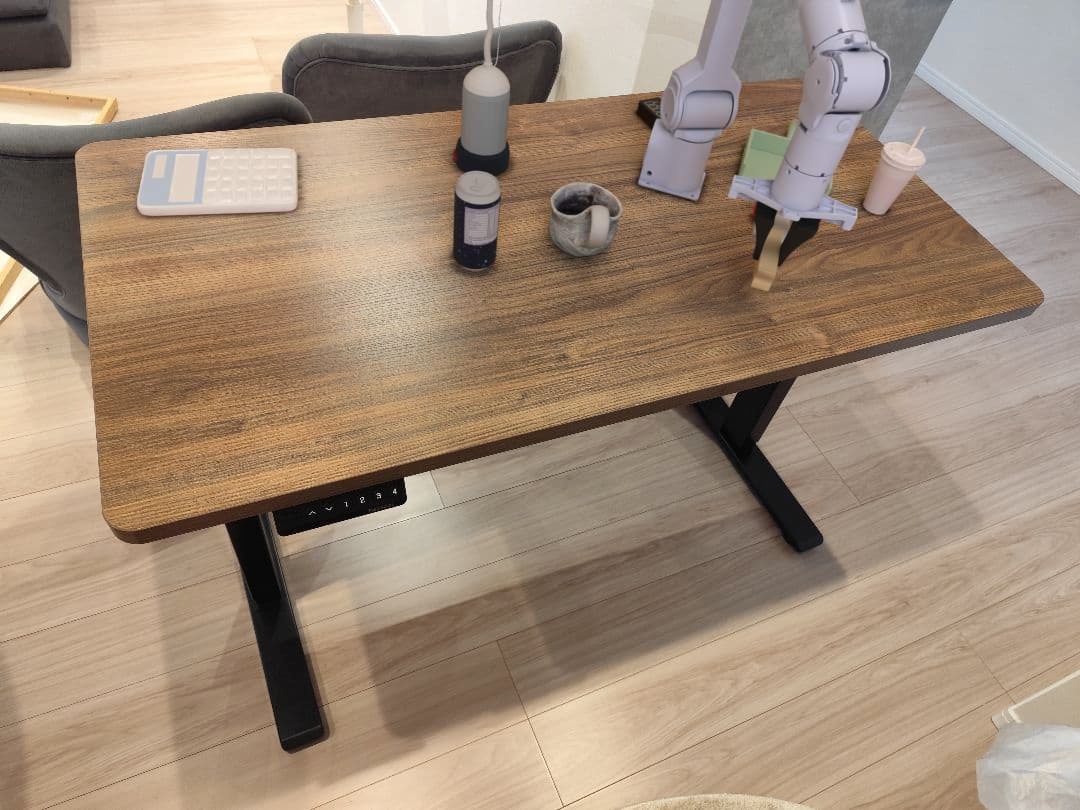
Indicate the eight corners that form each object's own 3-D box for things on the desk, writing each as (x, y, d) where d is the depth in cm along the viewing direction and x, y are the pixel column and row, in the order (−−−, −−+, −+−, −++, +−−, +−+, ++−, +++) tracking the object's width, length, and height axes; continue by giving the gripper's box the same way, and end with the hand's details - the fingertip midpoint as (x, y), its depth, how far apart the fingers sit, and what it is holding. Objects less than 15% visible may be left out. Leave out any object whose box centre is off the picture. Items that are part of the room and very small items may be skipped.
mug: (598, 220, 106) (612, 159, 98) (632, 277, 99) (649, 216, 91) (535, 227, 103) (544, 165, 95) (565, 287, 96) (577, 224, 88)
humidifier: (444, 156, 112) (446, -20, 92) (486, 141, 115) (497, -31, 96) (476, 183, 108) (486, 6, 89) (519, 167, 112) (537, -6, 93)
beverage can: (501, 254, 99) (508, 177, 89) (486, 279, 95) (491, 201, 86) (462, 241, 99) (465, 164, 90) (445, 266, 96) (447, 188, 87)
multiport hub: (656, 108, 128) (659, 96, 126) (692, 142, 122) (696, 129, 121) (635, 112, 126) (638, 100, 125) (670, 146, 121) (674, 134, 119)
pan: (823, 205, 115) (832, 187, 112) (736, 181, 116) (743, 163, 114) (829, 142, 128) (837, 124, 125) (751, 121, 129) (757, 103, 127)
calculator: (298, 212, 99) (296, 200, 98) (138, 218, 95) (133, 205, 94) (297, 156, 107) (296, 144, 106) (149, 159, 103) (145, 147, 102)
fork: (776, 294, 89) (785, 276, 87) (741, 284, 90) (749, 266, 88) (788, 216, 100) (796, 199, 98) (756, 207, 100) (764, 190, 98)
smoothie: (896, 223, 114) (945, 142, 103) (856, 214, 114) (900, 132, 103) (892, 200, 118) (938, 119, 107) (853, 191, 118) (895, 110, 108)
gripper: (741, 163, 79) (705, 261, 89) (875, 199, 77) (822, 294, 88) (749, 131, 83) (713, 228, 94) (875, 165, 82) (825, 259, 92)
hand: (766, 258), depth 91 cm, fingers closed on fork, 2 cm apart
